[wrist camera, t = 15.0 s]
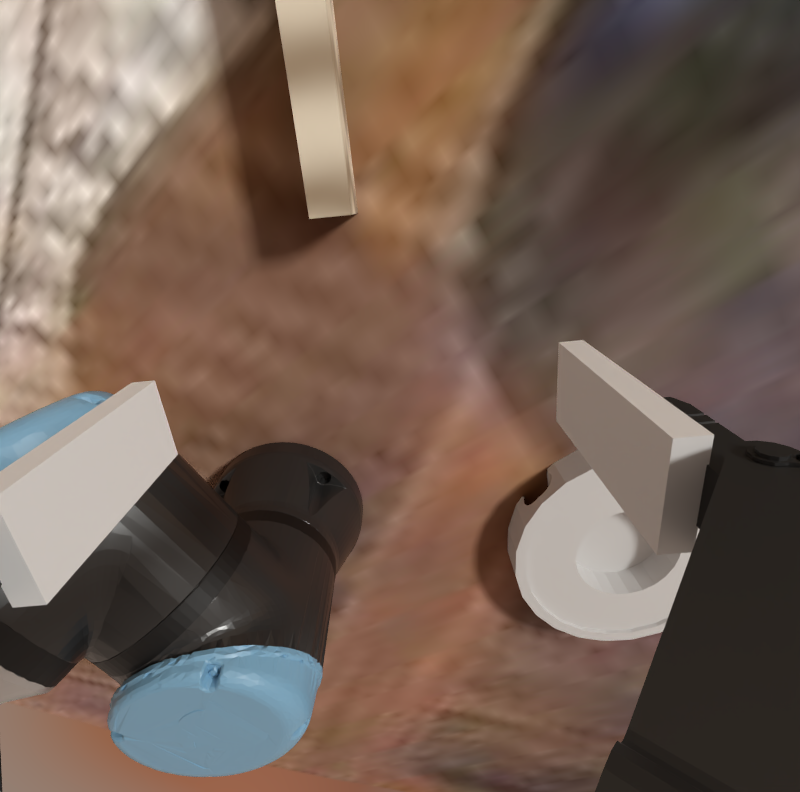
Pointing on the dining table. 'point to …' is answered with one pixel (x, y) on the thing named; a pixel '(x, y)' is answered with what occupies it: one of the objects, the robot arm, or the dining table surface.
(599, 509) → the ashtray
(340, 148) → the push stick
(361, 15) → the dining table surface
